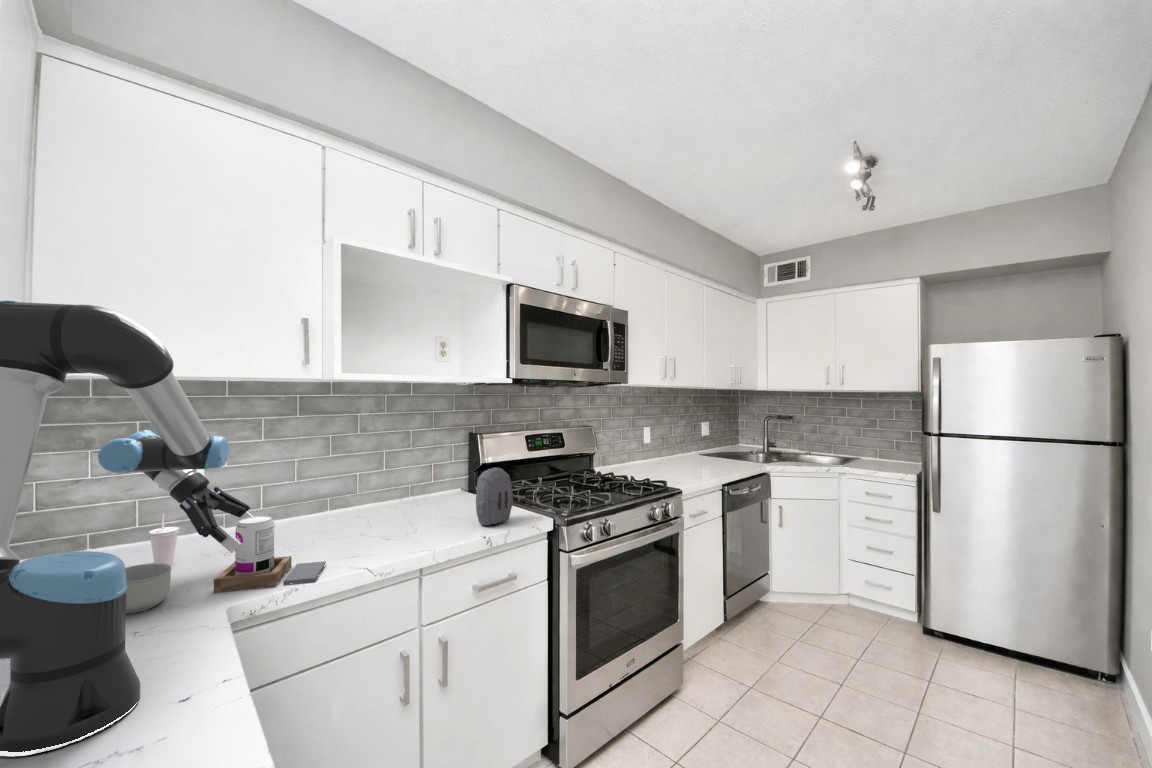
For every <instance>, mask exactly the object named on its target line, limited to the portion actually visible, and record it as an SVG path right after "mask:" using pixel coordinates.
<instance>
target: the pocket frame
mask: <svg viewBox="0 0 1152 768" xmlns="http://www.w3.org/2000/svg"><path fill="white" fill-rule="evenodd" d="M290 567H291V568H292V556H291V555H289V556H280V557H279V556H278V557H277V556H276V557H275V556H274V570H273V571H272V572H270V573H258V574H247V575H236V576H235V561H234V562H233V563H231V564H230V565H229V566H228V567H226V568H225V569H224V570H223V571H222V572H221V573H219V575H217V576H216V577H215V578H213V593H221V592H233V591H241V590H240V589H244V590H251V589H250V588H254V589H259V588H258V587H264V588H268V587H267V586H275V587H277V586H278V584H279V583H280V582H281V581H282V580H281V578H282V577H283V576H284V574H285V573H286V572H287V571H288V570H289V568H290ZM289 571H290V570H289ZM289 571H288V572H289ZM288 572H287V573H288ZM287 573H286V574H287ZM284 577H285V576H284ZM284 577H283V578H284ZM283 578H282V579H283ZM280 580H281V581H280ZM279 581H280V582H279ZM278 582H279V583H278ZM277 583H278V584H277ZM276 585H277V586H276Z"/></svg>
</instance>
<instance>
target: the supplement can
mask: <svg viewBox="0 0 1152 768" xmlns="http://www.w3.org/2000/svg"><path fill="white" fill-rule="evenodd" d="M235 538H236V539H237V540H238V541H239V542H241V543H242V544H241V545H240V546H239V547H238V548H237V549H236V550H235V551H234V553H235V555H234V556H235V558H234V562H235V576H236V575H247V574H258V573H270V572H272V571H273V570H274V558H275V522H274V520H273V519H272V516H269V515H256V516H254V517H249V518H245V519H242V520H240V521H239V520H238V523H237V524H236V527H235Z"/></svg>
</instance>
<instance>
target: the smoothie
mask: <svg viewBox="0 0 1152 768" xmlns="http://www.w3.org/2000/svg"><path fill="white" fill-rule="evenodd" d="M179 532H180V527H179V526H165V514H164V513H162V514H161V528H155V529H151V530H150V531H148V537H149V538H150V544H151V551H152V557H153V563H163V564H168V565H170V566H171V567H172V566H173V565H174V560H175V553H176V547H177V540H178V533H179Z"/></svg>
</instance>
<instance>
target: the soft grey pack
mask: <svg viewBox="0 0 1152 768" xmlns="http://www.w3.org/2000/svg"><path fill="white" fill-rule="evenodd" d="M513 499H514V496H513V483H512V481H511V476H510V474H509V473H508V472H506V471H505V470H504V469H503V468H501V467H492V468H488V469H487V470H484V471H482V472H481V474H479V476H478V478H477V483H476V495H475V509H476V510H475V511H476V512H475V513H476V516H477V519H478V523H479V524H480V525H482V524H483V526H492V525H491V524H495V525H498V524H497V523H499V524H502V523H504V522H507V521H508V520H510V517H511V511H512V508H513ZM501 522H502V523H501Z"/></svg>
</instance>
